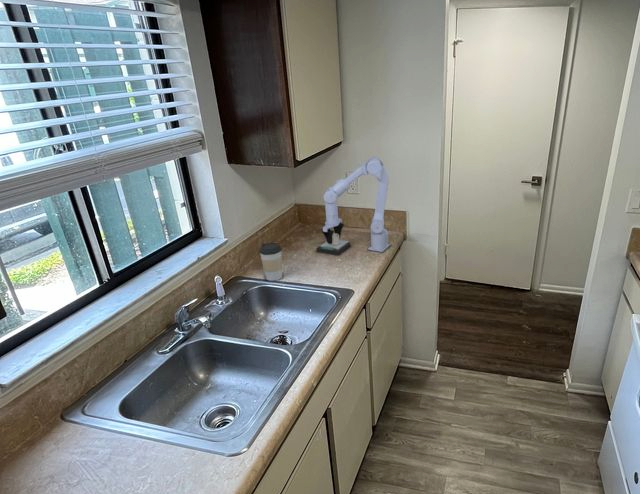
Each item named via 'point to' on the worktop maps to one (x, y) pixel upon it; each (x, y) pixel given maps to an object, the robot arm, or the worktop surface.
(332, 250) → the scale
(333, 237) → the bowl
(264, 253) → the coffee cup
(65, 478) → the worktop surface
